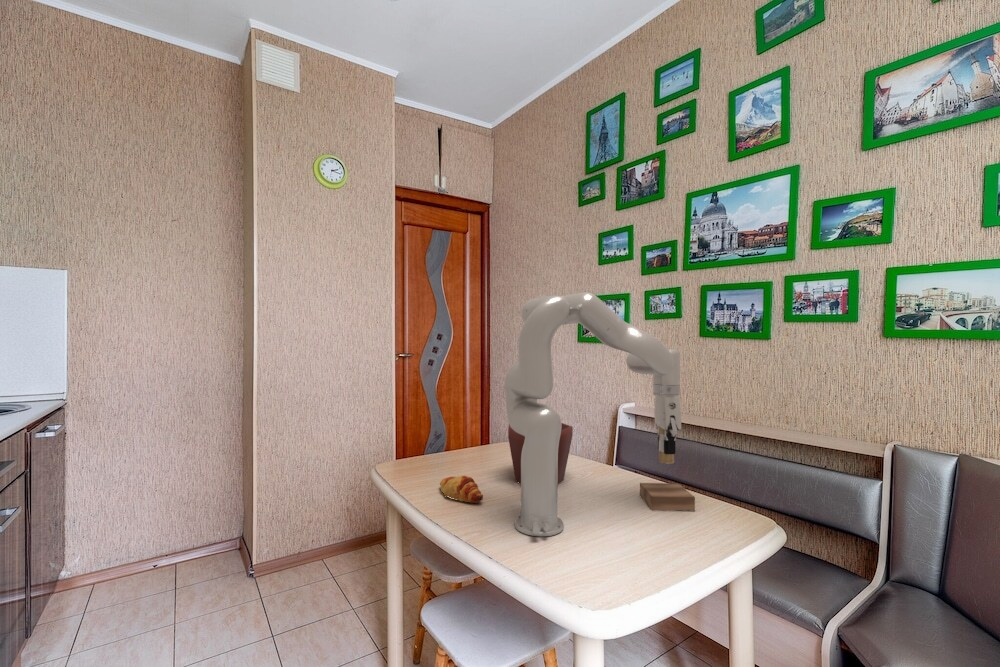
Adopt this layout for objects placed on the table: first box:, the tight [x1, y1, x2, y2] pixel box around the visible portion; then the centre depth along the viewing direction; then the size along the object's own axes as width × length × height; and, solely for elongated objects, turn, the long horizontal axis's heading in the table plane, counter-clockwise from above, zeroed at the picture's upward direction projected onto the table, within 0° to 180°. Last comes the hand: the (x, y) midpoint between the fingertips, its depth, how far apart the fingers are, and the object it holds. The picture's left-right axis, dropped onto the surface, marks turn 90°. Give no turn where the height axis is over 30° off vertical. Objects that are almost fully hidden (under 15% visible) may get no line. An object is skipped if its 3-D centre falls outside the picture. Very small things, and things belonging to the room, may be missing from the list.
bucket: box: [507, 422, 574, 485], centre depth 154 cm, size 24×22×25 cm
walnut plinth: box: [639, 482, 696, 511], centre depth 132 cm, size 12×12×4 cm
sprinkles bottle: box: [658, 426, 676, 465], centre depth 133 cm, size 5×5×14 cm
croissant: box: [439, 474, 484, 504], centre depth 137 cm, size 21×10×8 cm, turn 41°
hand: (666, 451), depth 133 cm, fingers closed on sprinkles bottle, 4 cm apart
